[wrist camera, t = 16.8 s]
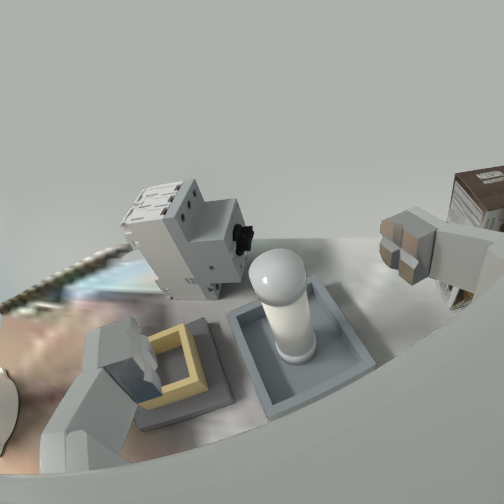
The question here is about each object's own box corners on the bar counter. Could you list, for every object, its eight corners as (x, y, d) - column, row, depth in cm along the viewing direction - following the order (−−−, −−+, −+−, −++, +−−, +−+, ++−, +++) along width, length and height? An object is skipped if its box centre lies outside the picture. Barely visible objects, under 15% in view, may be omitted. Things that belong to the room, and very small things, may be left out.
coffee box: (479, 259, 34) (508, 163, 23) (499, 293, 30) (542, 197, 19) (430, 274, 36) (453, 170, 25) (449, 312, 31) (488, 209, 20)
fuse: (287, 372, 31) (259, 300, 22) (273, 341, 35) (241, 262, 25) (323, 355, 32) (314, 276, 22) (306, 325, 35) (290, 241, 25)
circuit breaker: (261, 299, 40) (228, 211, 30) (168, 299, 44) (117, 225, 34) (267, 258, 45) (241, 171, 35) (182, 262, 49) (142, 188, 39)
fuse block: (143, 431, 30) (122, 422, 27) (131, 353, 38) (113, 337, 35) (234, 402, 31) (221, 390, 28) (207, 323, 39) (195, 304, 36)
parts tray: (272, 423, 28) (266, 417, 26) (232, 326, 38) (225, 313, 36) (373, 374, 29) (376, 363, 27) (317, 288, 39) (315, 273, 37)
